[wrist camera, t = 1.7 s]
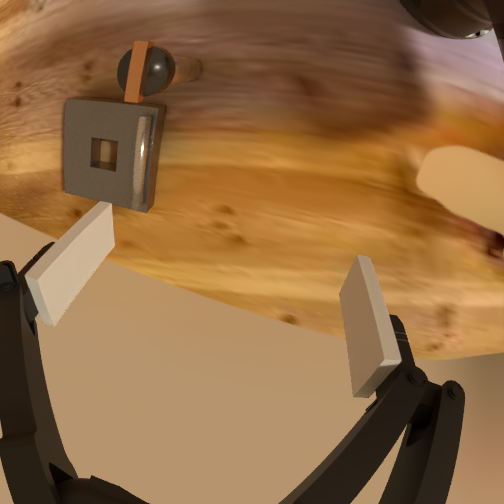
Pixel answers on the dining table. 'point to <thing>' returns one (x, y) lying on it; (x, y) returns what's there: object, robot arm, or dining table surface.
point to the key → (153, 70)
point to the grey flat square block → (128, 154)
